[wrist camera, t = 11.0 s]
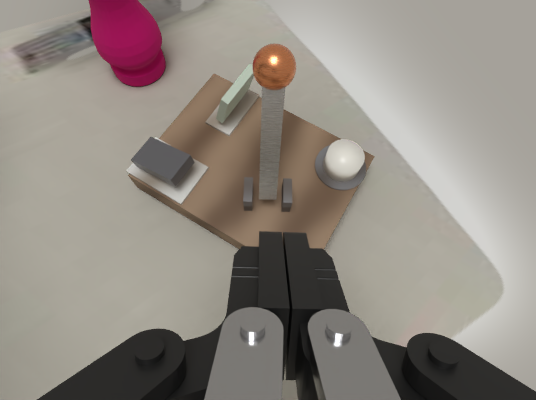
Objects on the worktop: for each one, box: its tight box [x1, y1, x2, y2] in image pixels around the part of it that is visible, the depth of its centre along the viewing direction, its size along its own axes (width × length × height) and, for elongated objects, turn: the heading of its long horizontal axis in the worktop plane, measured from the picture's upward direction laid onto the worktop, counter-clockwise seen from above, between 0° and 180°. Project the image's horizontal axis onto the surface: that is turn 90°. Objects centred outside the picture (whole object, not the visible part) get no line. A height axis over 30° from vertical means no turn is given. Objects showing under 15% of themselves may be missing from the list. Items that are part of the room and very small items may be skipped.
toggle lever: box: [253, 44, 296, 200], centre depth 28 cm, size 3×3×14 cm
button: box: [323, 139, 365, 182], centre depth 34 cm, size 4×4×2 cm
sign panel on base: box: [216, 64, 254, 123], centre depth 35 cm, size 1×5×4 cm, turn 148°
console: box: [126, 74, 374, 249], centre depth 35 cm, size 20×15×5 cm
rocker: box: [131, 137, 195, 187], centre depth 33 cm, size 5×3×1 cm, turn 60°
